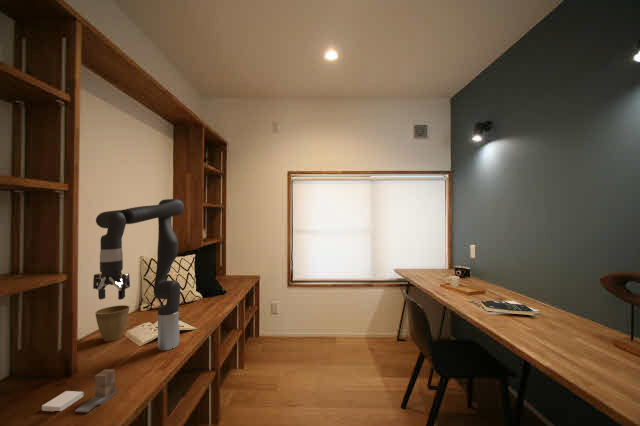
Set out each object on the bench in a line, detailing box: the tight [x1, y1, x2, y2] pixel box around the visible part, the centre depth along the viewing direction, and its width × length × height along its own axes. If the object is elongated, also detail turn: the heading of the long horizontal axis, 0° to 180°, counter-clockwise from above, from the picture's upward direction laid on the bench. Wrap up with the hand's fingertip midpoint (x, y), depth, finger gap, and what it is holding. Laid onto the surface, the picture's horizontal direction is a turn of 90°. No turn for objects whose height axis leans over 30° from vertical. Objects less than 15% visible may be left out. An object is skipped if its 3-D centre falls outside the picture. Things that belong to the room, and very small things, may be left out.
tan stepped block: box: [75, 368, 116, 413], centre depth 96 cm, size 11×4×8 cm, turn 175°
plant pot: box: [94, 304, 130, 342], centre depth 148 cm, size 15×15×16 cm
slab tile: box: [41, 390, 84, 412], centre depth 96 cm, size 2×7×8 cm
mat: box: [97, 390, 118, 406], centre depth 98 cm, size 7×6×1 cm
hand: (111, 299), depth 112 cm, fingers open, 8 cm apart
